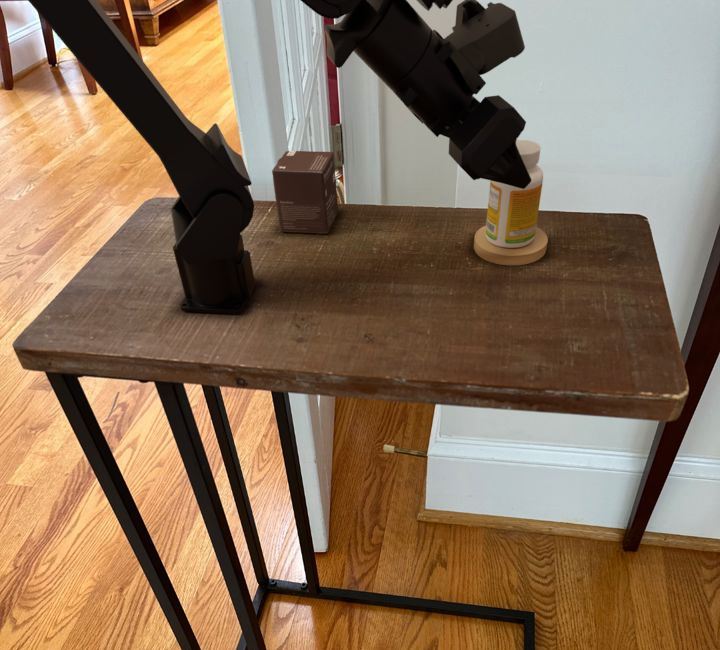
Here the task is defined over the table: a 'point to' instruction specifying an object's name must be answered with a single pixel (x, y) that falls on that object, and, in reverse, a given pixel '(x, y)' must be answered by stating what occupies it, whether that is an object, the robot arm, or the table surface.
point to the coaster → (510, 249)
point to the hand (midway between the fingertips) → (509, 166)
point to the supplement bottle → (516, 204)
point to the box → (305, 191)
